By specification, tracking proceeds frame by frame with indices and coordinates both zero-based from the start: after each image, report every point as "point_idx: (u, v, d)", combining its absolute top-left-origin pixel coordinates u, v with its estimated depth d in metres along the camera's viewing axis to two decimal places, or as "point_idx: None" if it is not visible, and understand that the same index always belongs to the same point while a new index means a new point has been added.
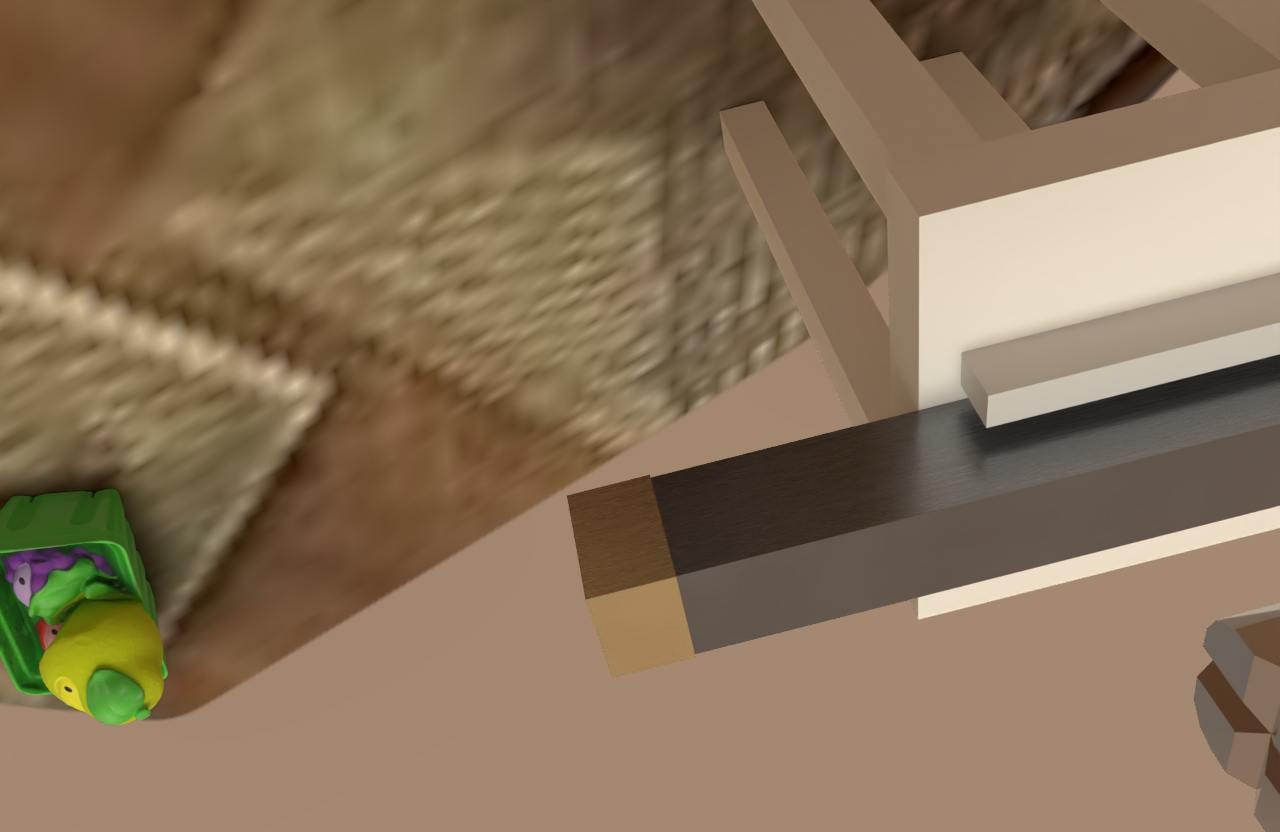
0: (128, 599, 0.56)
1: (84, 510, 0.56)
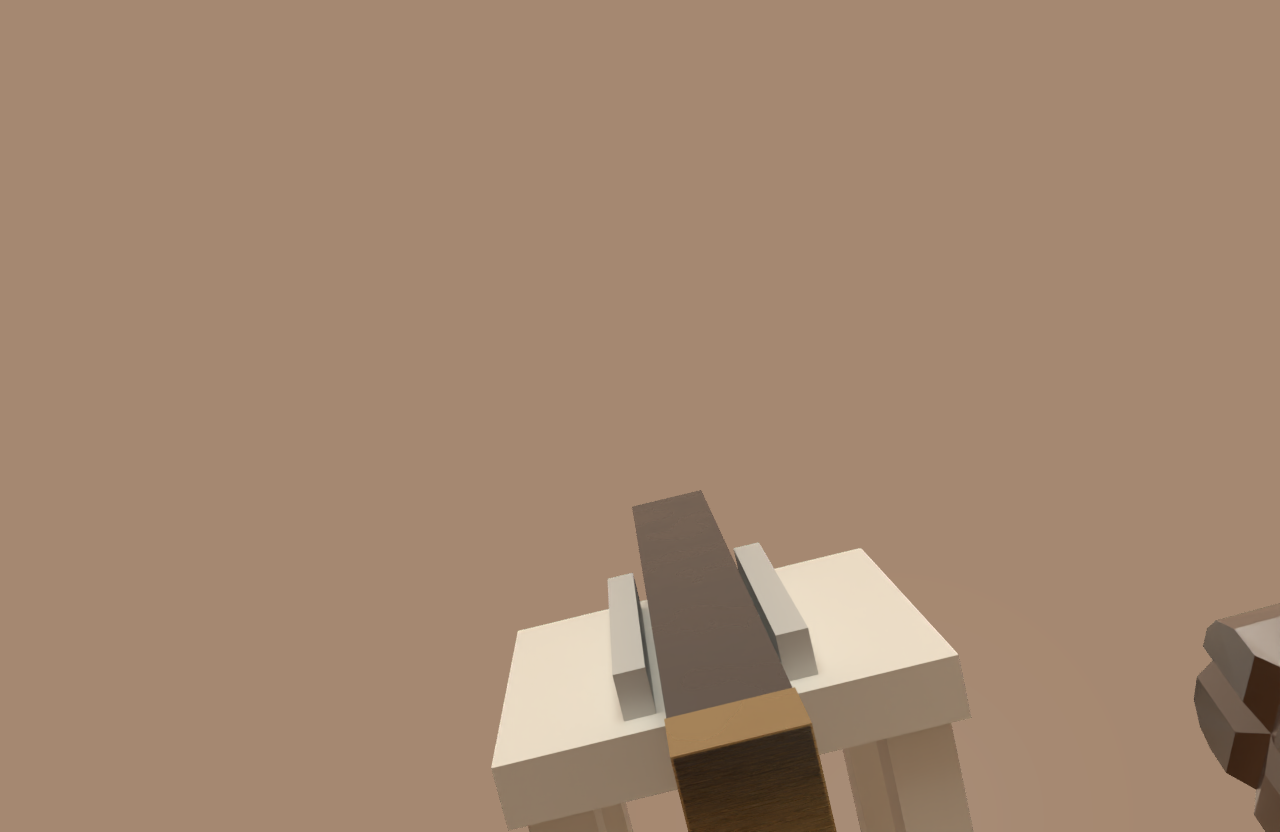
0: None
1: None
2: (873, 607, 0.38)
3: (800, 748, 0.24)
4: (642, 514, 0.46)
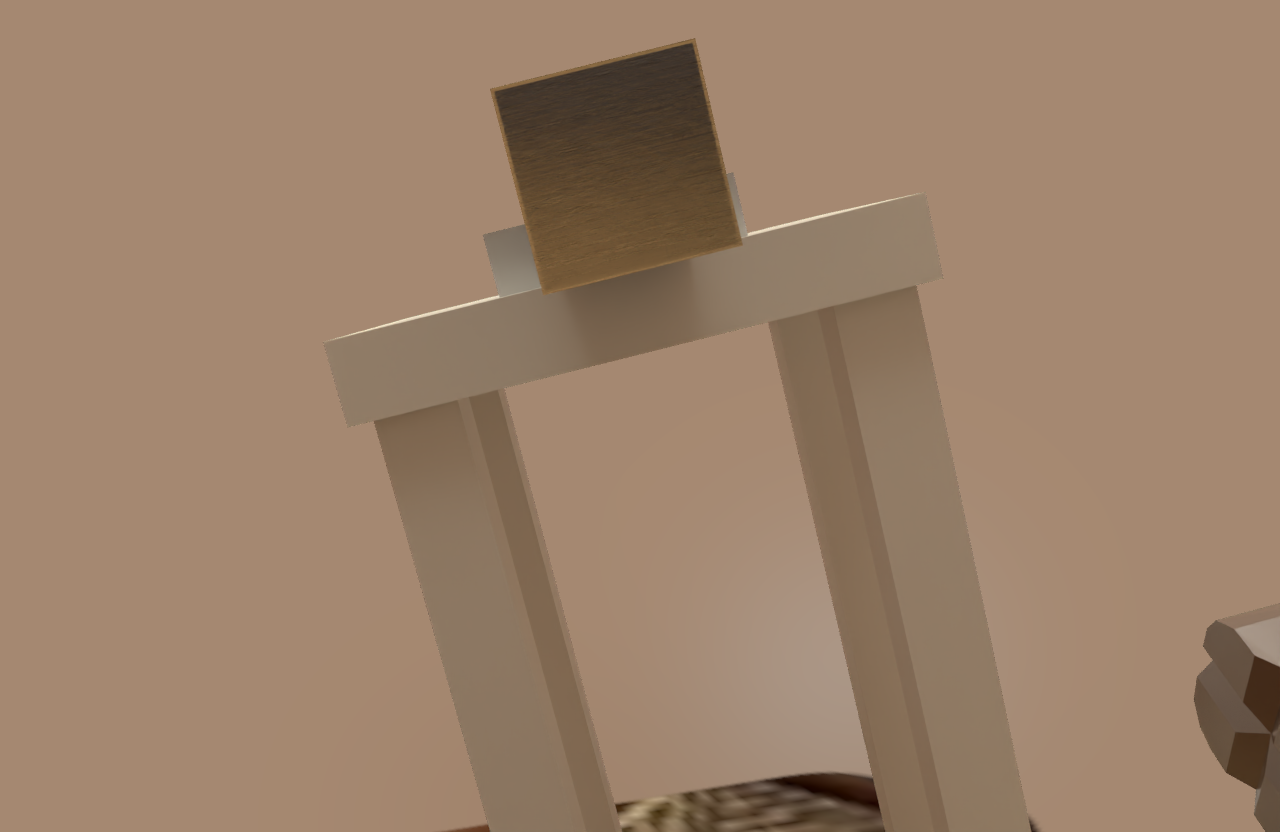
0: None
1: None
2: (825, 215, 0.31)
3: (679, 77, 0.17)
4: None
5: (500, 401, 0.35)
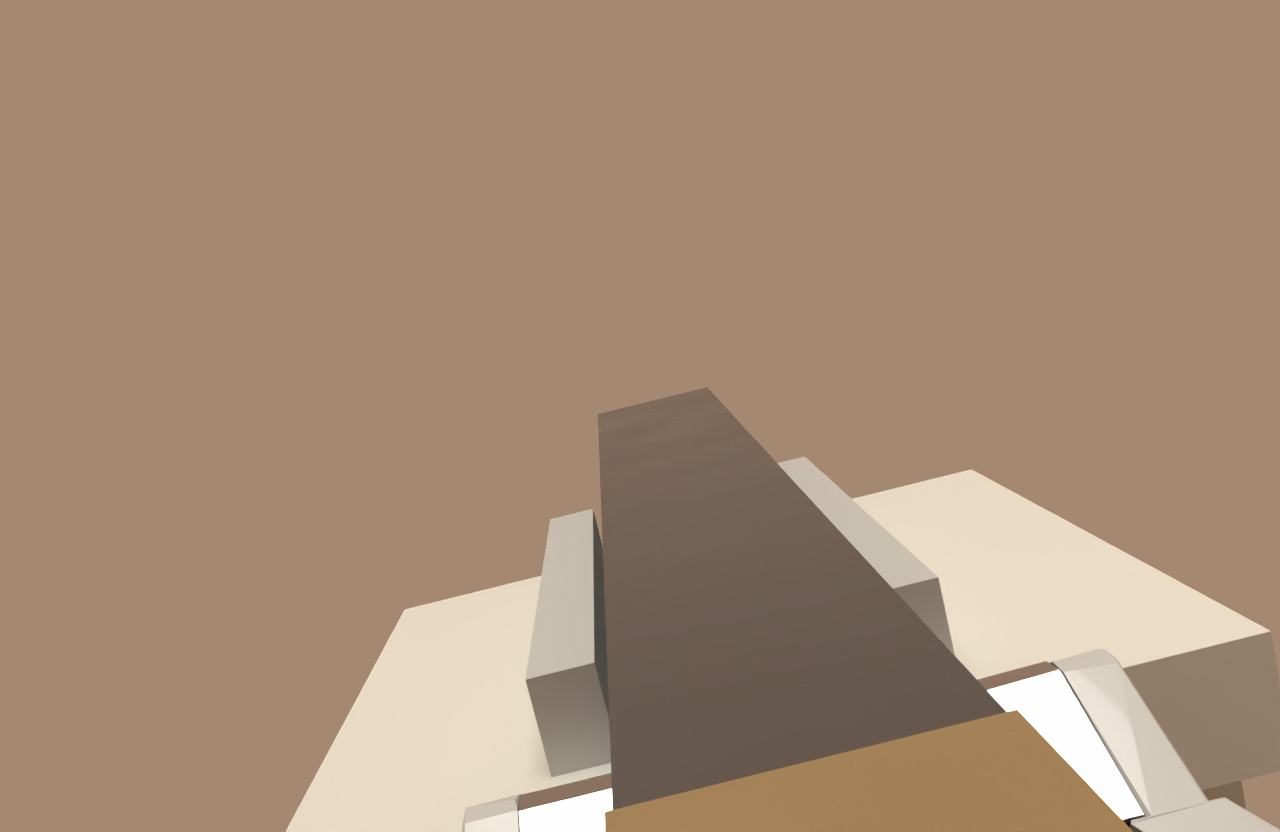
0: None
1: None
2: (1031, 552, 0.20)
3: None
4: (612, 420, 0.28)
5: None
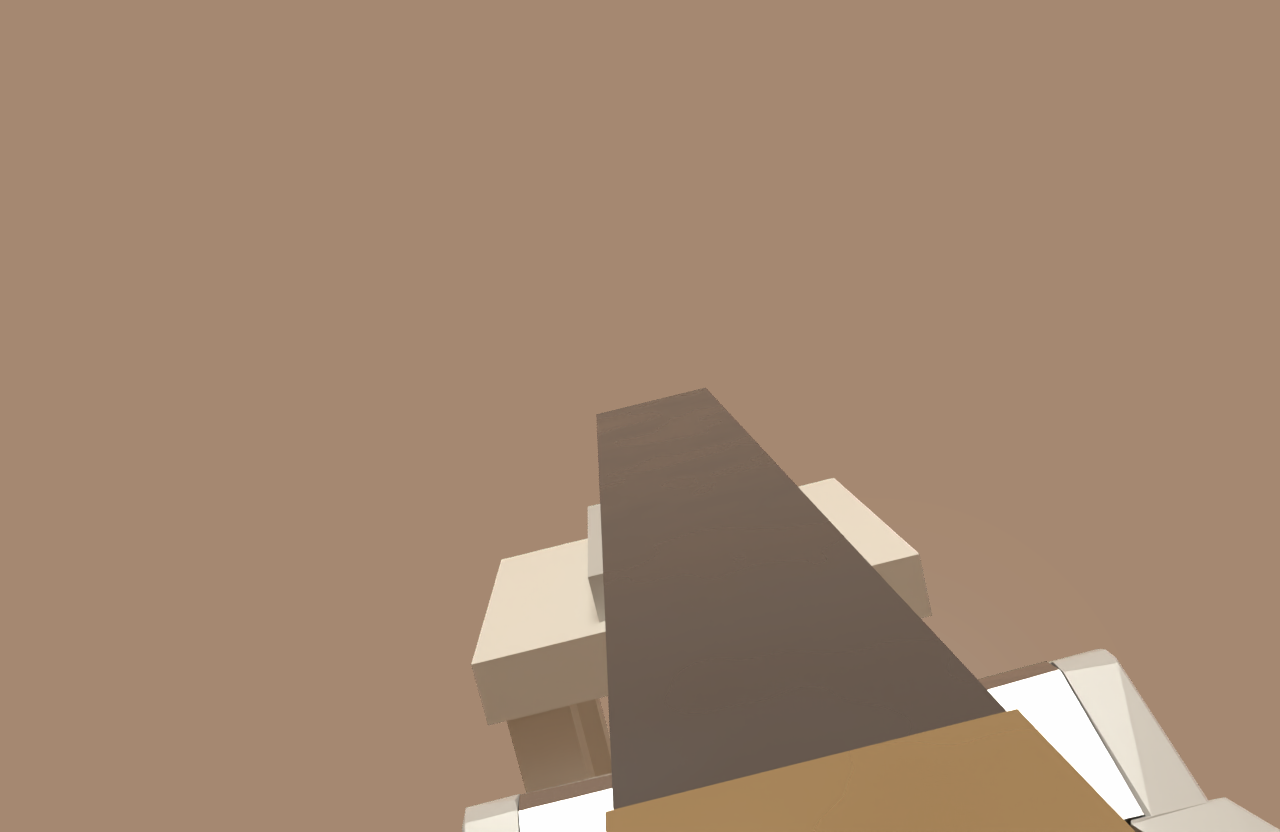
0: None
1: None
2: (842, 522, 0.39)
3: None
4: (610, 420, 0.28)
5: None
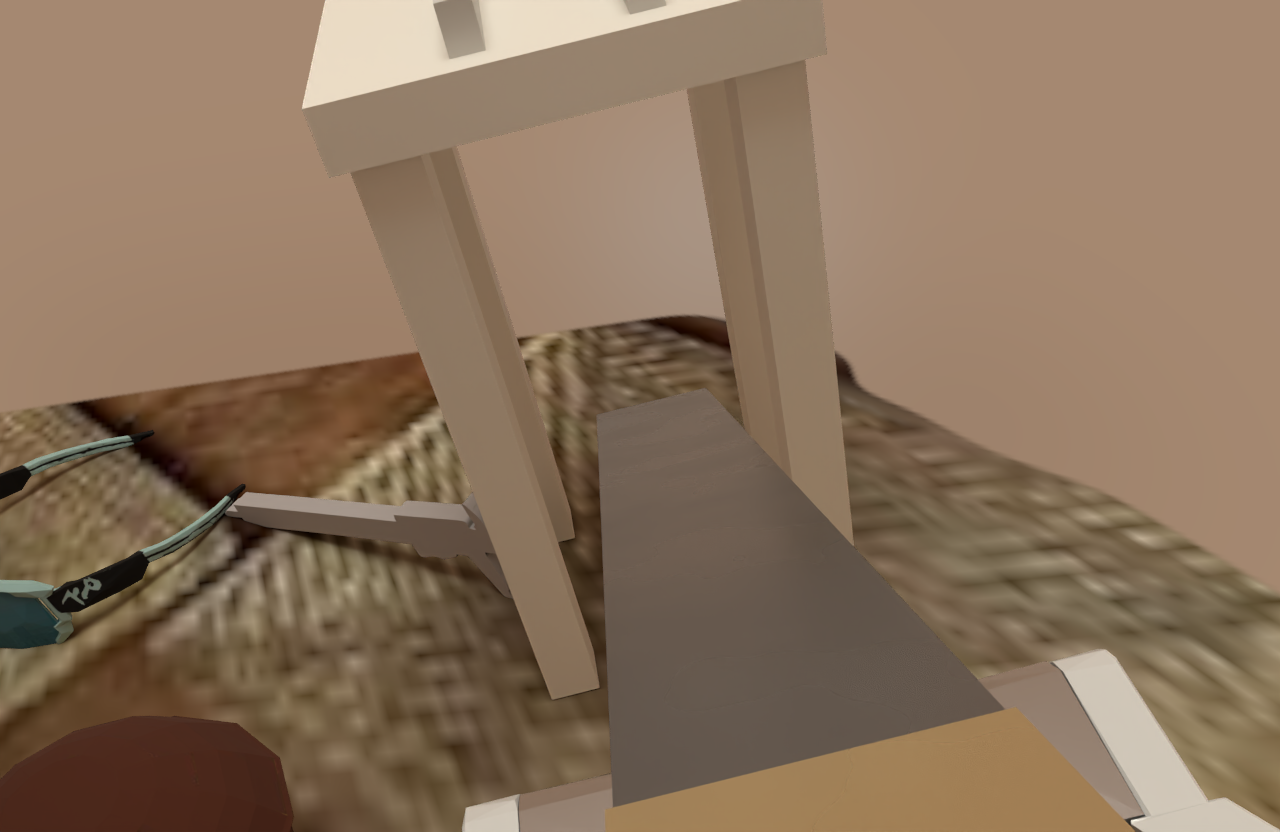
0: None
1: None
2: None
3: None
4: (611, 420, 0.28)
5: None
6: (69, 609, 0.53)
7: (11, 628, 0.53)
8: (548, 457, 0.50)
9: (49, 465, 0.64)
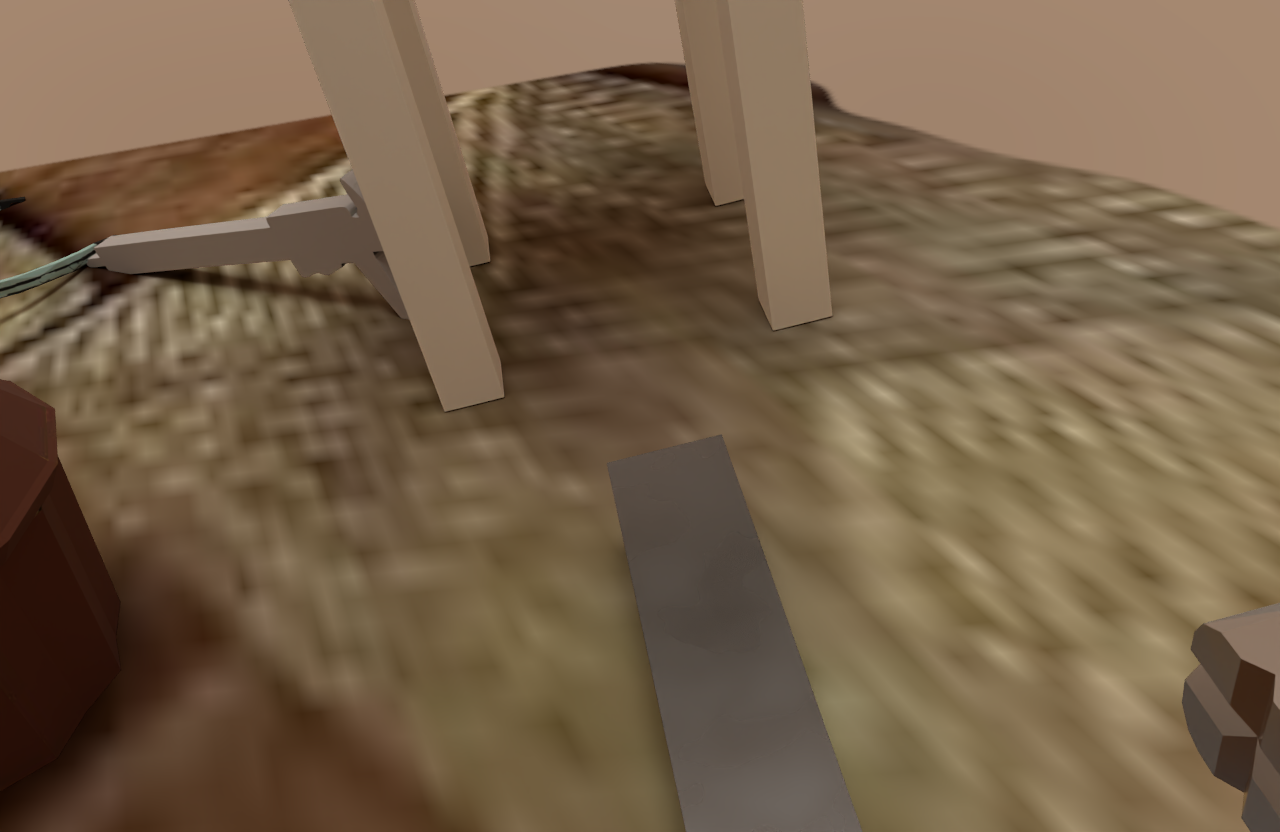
0: None
1: None
2: None
3: None
4: (631, 505, 0.27)
5: None
6: None
7: None
8: (451, 141, 0.40)
9: None
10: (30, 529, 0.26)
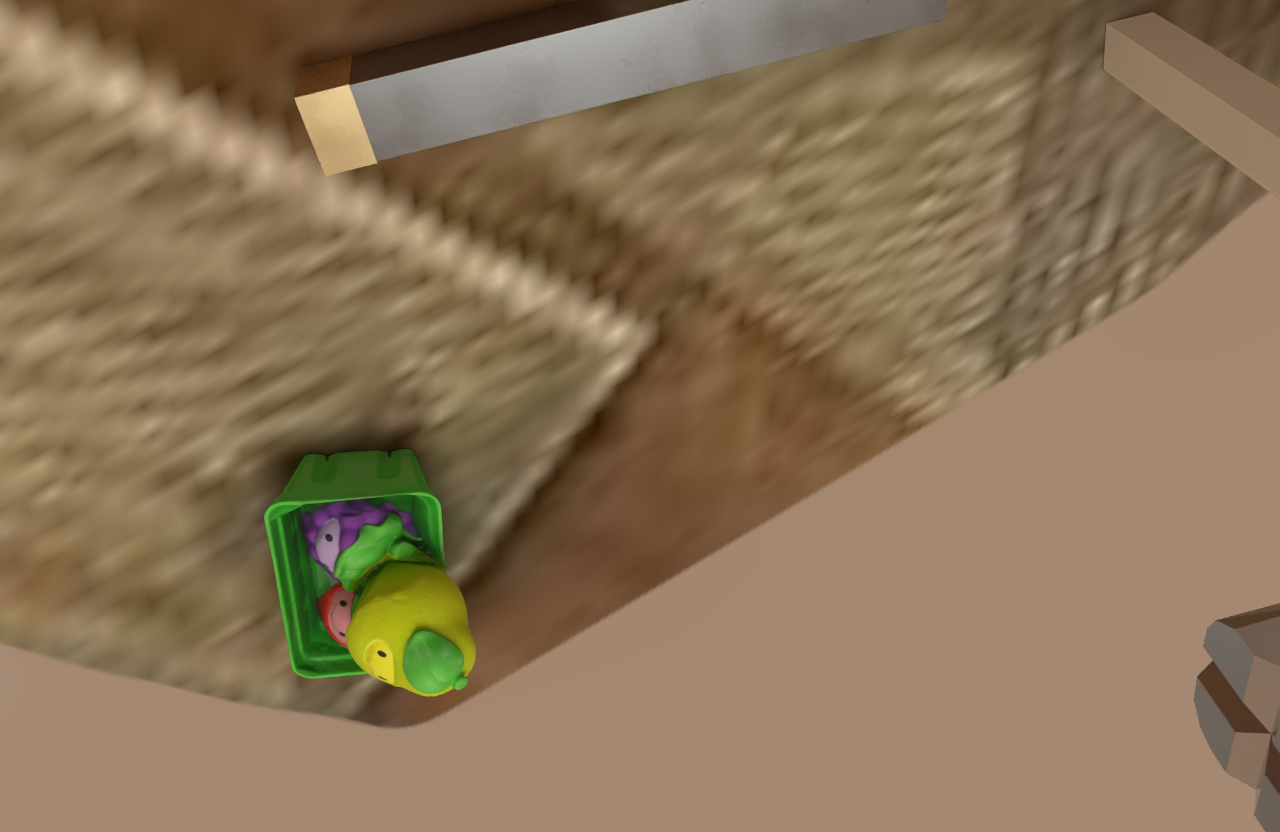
0: (432, 563, 0.52)
1: (386, 467, 0.52)
2: None
3: None
4: None
5: None
6: None
7: None
8: None
9: None
10: None
